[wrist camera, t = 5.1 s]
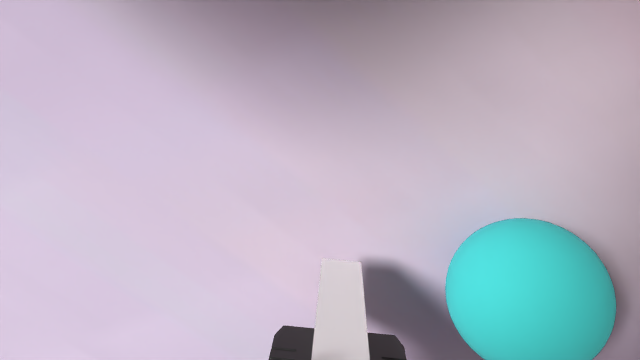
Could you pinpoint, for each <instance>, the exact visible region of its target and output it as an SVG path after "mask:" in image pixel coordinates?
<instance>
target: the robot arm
mask: <svg viewBox="0 0 640 360" xmlns="http://www.w3.org/2000/svg"><path fill="white" fill-rule="evenodd" d="M269 360H406V355H405V350H404V346H403V345H402V344H401V343H400V341H399V340H398V339H397V337H396V336H395V335H386V334H376V333H367V323H366V311H365V300H364V289H363V278H362V266H361V262H357V261H346V260H336V259H325V258H322V260H321V270H320V280H319V290H318V299H317V309H316V319H315V329H314V328H304V327H294V326H283V327H282V328H281V329H280V330H279V331H278V332H277V333H276V334H275V336H274V340H273V344H272V349H271V352H270V356H269Z"/></svg>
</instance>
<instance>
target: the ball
mask: <svg viewBox="0 0 640 360" xmlns="http://www.w3.org/2000/svg"><path fill="white" fill-rule="evenodd" d="M445 290H446V302H447V306H448V310H449V313H450V316H451V319H452V321H453V323H454V325H455V327H456V329H457V330H458V332H459V334H460V335H461V337H462V338H463V339H464V340H465V342H466V343H467V344H468V345H469V346H470V348H472V349H473V350H474V351H475V352H476V353H477V354H478V355H479V356H481V357H482V358H483V359H485V360H592V359H593V358H594V357H595V356H596V355H597V354H598V353H599V352H600V351H601V350H602V348H603V347H604V346H605V344H606V342H607V340H608V338H609V337H610V335H611V332H612V329H613V327H614V322H615V316H616V299H615V291H614V287H613V284H612V281H611V278H610V276H609V274H608V272H607V269H606V267H605V266H604V264H603V263H602V261H601V260H600V259H599V257H598V256H597V254H596V253H595V252H594V251H593V250H592V249H591V248H590V247H589V246H588V245H587V244H586V243H585V242H584V241H582V240H581V239H580V238H579V237H577V236H576V235H574V234H573V233H571V232H569V231H568V230H566V229H564V228H562V227H559V226H557V225H554V224H552V223H549V222H545V221H541V220H535V219H527V218H515V219H507V220H502V221H498V222H494V223H492V224H489V225H487V226H485V227H483V228H481V229H479V230H477V231H476V232H474V233H473V234H472V235H471V236H469V237H468V238H467V239H466V240H465V241H464V242H463V243H462V244H461V246H460V247H459V248H458V250H457V251H456V253H455V254H454V256H453V258H452V260H451V263H450V265H449V268H448V273H447V277H446V286H445Z"/></svg>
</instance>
